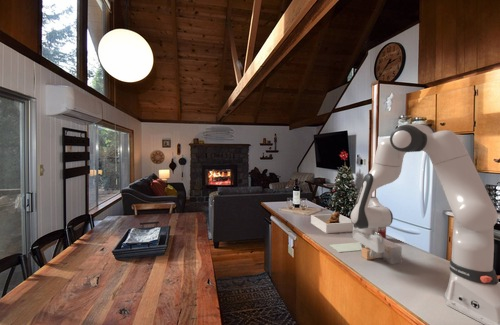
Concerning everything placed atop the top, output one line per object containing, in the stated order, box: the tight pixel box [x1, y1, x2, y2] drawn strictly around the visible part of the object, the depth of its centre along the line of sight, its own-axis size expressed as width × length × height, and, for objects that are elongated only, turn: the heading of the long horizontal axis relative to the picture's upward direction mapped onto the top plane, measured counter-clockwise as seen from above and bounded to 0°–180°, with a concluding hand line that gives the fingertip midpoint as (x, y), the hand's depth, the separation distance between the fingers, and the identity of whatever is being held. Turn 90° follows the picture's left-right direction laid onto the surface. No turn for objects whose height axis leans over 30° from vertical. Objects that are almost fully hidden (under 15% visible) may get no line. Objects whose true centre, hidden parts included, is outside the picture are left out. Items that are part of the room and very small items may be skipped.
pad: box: [329, 241, 366, 253], centre depth 140 cm, size 10×20×1 cm, turn 101°
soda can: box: [378, 227, 387, 239], centre depth 152 cm, size 7×7×12 cm
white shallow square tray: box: [310, 213, 353, 234], centre depth 177 cm, size 23×23×6 cm
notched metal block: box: [382, 238, 403, 265], centre depth 128 cm, size 16×6×8 cm, turn 11°
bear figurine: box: [325, 211, 340, 224], centre depth 173 cm, size 14×15×12 cm
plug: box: [361, 247, 383, 261], centre depth 127 cm, size 4×17×4 cm, turn 103°
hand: (367, 254), depth 126 cm, fingers closed on plug, 4 cm apart
